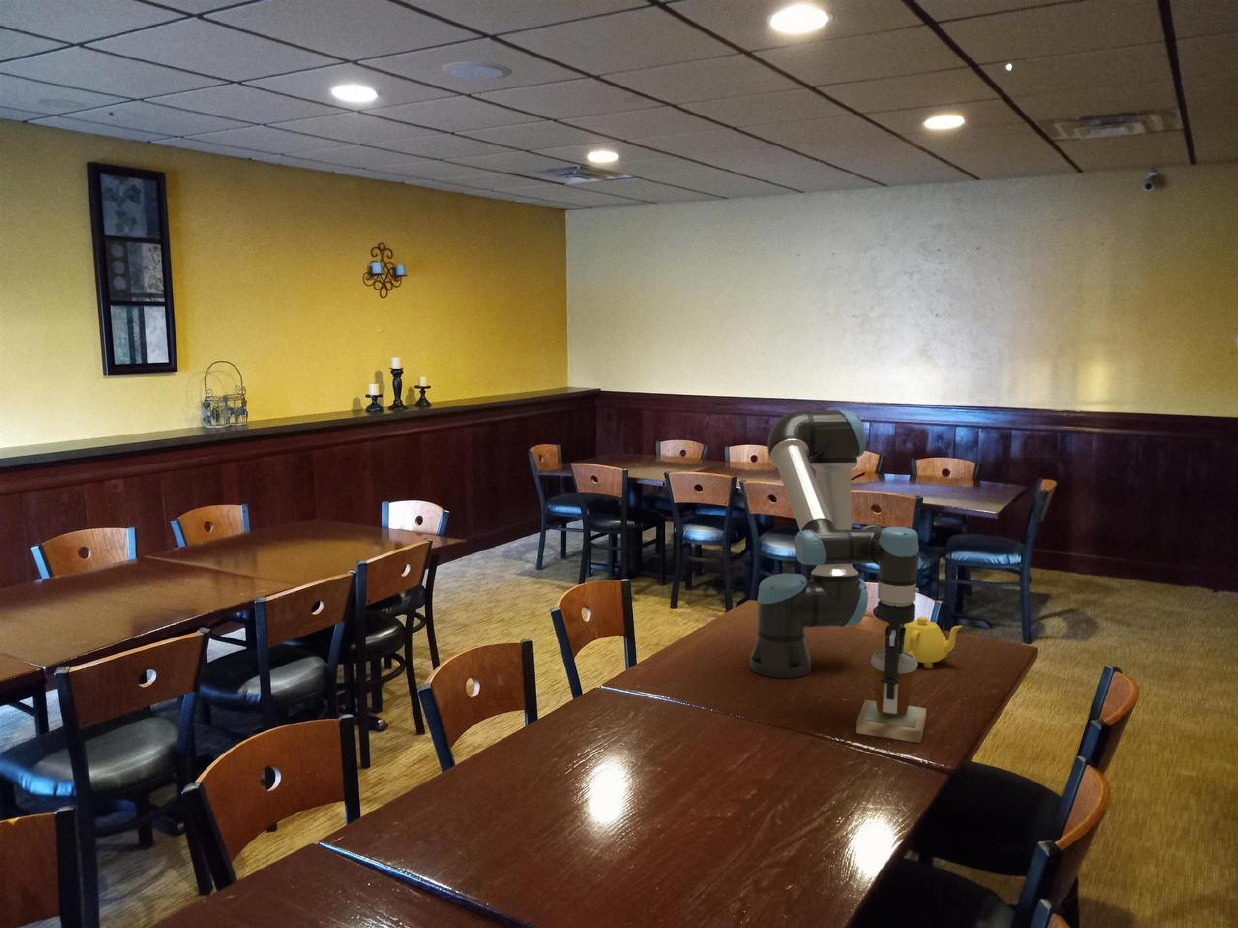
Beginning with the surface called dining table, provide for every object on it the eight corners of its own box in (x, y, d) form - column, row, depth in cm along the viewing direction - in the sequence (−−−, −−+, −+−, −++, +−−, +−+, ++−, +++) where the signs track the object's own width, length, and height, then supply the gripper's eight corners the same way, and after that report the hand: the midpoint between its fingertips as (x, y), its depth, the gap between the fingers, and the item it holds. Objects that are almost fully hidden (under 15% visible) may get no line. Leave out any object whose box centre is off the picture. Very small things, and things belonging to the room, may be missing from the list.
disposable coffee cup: (917, 720, 194) (920, 665, 193) (870, 717, 196) (872, 662, 195) (912, 703, 204) (915, 650, 202) (867, 700, 206) (869, 647, 204)
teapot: (871, 662, 239) (873, 619, 238) (890, 647, 252) (891, 605, 250) (951, 678, 228) (954, 633, 227) (967, 661, 241) (969, 618, 239)
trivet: (856, 732, 197) (856, 720, 197) (864, 710, 209) (865, 698, 208) (920, 742, 192) (921, 729, 192) (925, 719, 204) (926, 707, 204)
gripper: (910, 616, 186) (905, 726, 189) (919, 590, 205) (915, 690, 208) (871, 612, 189) (867, 720, 192) (884, 587, 208) (880, 685, 211)
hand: (892, 704), depth 200 cm, fingers closed on disposable coffee cup, 8 cm apart
